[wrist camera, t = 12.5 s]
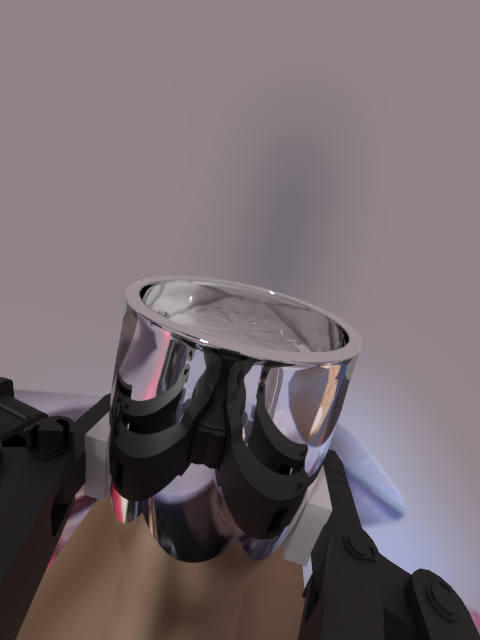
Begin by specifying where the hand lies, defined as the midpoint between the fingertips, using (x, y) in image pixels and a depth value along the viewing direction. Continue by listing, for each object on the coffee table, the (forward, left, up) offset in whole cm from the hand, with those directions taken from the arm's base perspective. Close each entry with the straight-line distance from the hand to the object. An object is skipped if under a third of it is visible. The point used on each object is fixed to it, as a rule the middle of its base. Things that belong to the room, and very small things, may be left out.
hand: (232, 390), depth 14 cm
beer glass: (0, -5, -9) cm, 10 cm away
